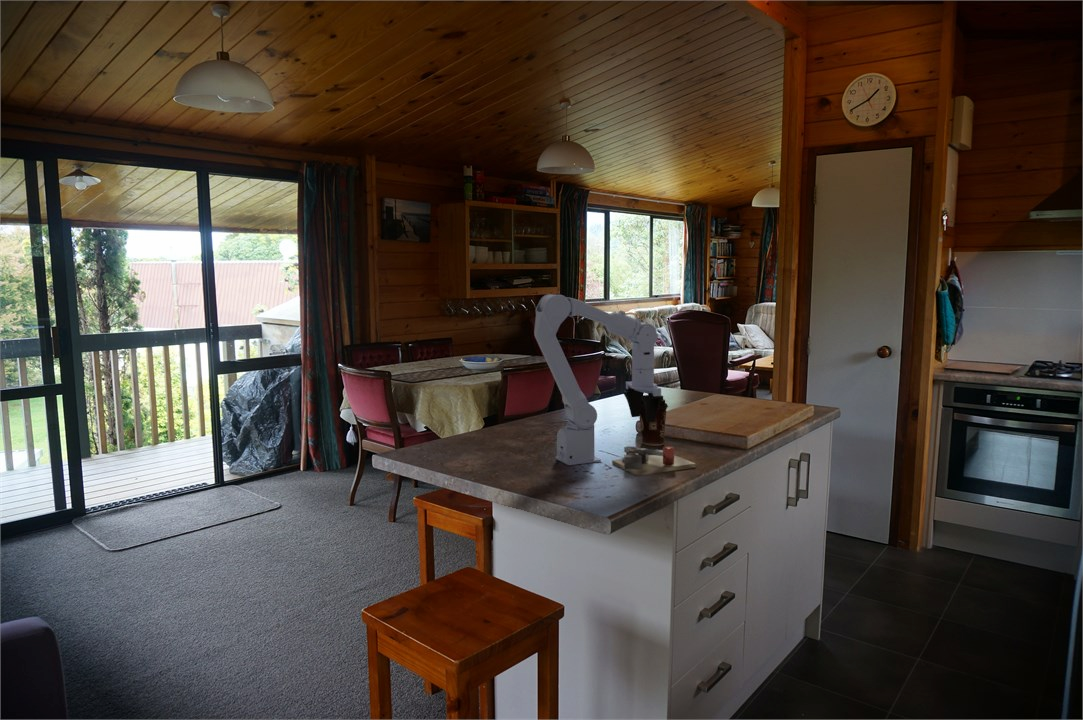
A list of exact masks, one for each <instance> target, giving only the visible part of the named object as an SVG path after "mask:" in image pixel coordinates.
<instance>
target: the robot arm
mask: <svg viewBox="0 0 1083 720" xmlns="http://www.w3.org/2000/svg"><path fill="white" fill-rule="evenodd" d="M575 316H579V317H583V318H585V319H589V320H591V321H594V322H597V323H600V324H602V325H604V326H605V329H606V331H607V332H608V333H611V334H613V335H615V336H618V337H620V338H623V339H626V340H628V341H630V342H631V343H632V344H631V345H632V346H631V347H632V350H631V355H632V356H631V381H625V389H626V390H624V391H623V395H624V397H625V399H626V401H627V404H628V408H629V411H630V412H629V413H630V416H631V418H638V417H639V415H640V408H641V400H643V403H644V407H645V416H646V421H647V422H654V421H655V418H656V414H657V410H658V407H659V405H660V403H661V401H662V400H663V399H664V395H662V388H661V387H658V384H657V383H655V344H656V342H657V340H658V338H659V334H658V333H657V330H656V328H655V326H654V325H652V324H650V323H644V322H642V319H641V318H638V317H636V318H635V317H632V316H629V315H626V312H625V311H623V310H619V311H617V310H615V311H613V312H611V313H609V312H607V311H605V310H602V309H599V308H597V307H595V306H594V305H591V304H589V303H587V302H584V301H583V300H580V299H576V298H573V297H566V296H565V295H562V294H553V293H552V294H550V293H548V294H545V295H543V296H542V297H541V298H540V299H539V301H538V304H537V306H536V308H535V320H534V330H533V333H534V334H533V335H534V338H535V340H536V342H537V344H538V347H539V349H540V351H541V352H542V355H543V358H544V359H545V361H546V364H547V366H548V368H549V370H550V372H551V374H552V377H553V379H554V381H555V383H556V386H557V388H558V390H559V391H560V394H561V398H562V399H561V400H562V403H563V405H564V406H563V407H564V415H565V418H567V419H568V421H567V423H566V427H564V428H560V429H559V430H558V431H557V434H556V456H555V459H556V460H557V461H560V462H561V463H563V464H565V465H567V466H575V465H576V466H577V465H581V464H582V465H583V464H591V463H599V462H601V461H602V459H600V458H598V457H597V456H595V424H596V421H597V420H598V419H597V418H598V413H597V410H596V408H595V407H594V406H593V405H592V404H591V403H590V402H589V401H588V399H587V397H586V395H585V394H584V393H583V391H582V390H581V388H580V386H579V384H578V381H577V379H576V377H575V375H574V373H573V371H572V368H571V366H570V364H569V362H568V360H567V357H566V356H565V355H566V354H565V353H564V351H563V348H562V346H561V344H560V342H559V340H558V338H557V332H558V331H559V328H560V326H561V324H562V323H563V322H564V321H565V320H566V319H567V318H568V317H575ZM644 394H645V395H644Z"/></svg>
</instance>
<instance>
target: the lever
mask: <svg viewBox="0 0 1083 720" xmlns="http://www.w3.org/2000/svg"><path fill="white" fill-rule="evenodd" d="M623 452H624V453H635V454H637V455H641V457H642V463H647V462H648V456H649V455H657V456H663V464H664V465H674V455H675V447H674V446H663V447H662V449H655V448H653V449H652V448H645V447H644V448H643V447H636V446H631V445H630V446H625V447H623Z"/></svg>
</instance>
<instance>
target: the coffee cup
mask: <svg viewBox="0 0 1083 720" xmlns="http://www.w3.org/2000/svg"><path fill="white" fill-rule="evenodd" d="M667 408H669V405H668V404H667V403H666V400H665V399H664V398H663V400H662V401H661V403H660V405H659V407H658V410H657V414H656V418H655V421H654V422H647V421H646V416H645V407H644V403H643V400H641V408H640V415H639V425H640V427H639V428H640V432H641V436H642V437H641V438H642V439H641V442H642V444H643V445H646V446H651V447H652V446H654V447H655V446H656V447H657V446H663V445H665V432H666V420H667Z"/></svg>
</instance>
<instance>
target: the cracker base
mask: <svg viewBox="0 0 1083 720" xmlns="http://www.w3.org/2000/svg"><path fill="white" fill-rule="evenodd" d="M611 462H612V465H614V466H615V467H618V468H619V469H622V470H624V471H626V472H628V473H630V474H632V475H635V476H636V477H638V476H644V475H652V474H659V473H665V472H667V473H668V472H673V471H680V470H687V469H693V468H694V469H696V465H697V464H696V463H695V462H693V461H690V460H688V459H685V458H682V457H681V456H677V455H675V454H674V465H664V464H663V456H657V455H648V462H647V463H642V457H641V455H638V454H637V453H626V454H624V456H623V458H619V459H612V460H611Z"/></svg>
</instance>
